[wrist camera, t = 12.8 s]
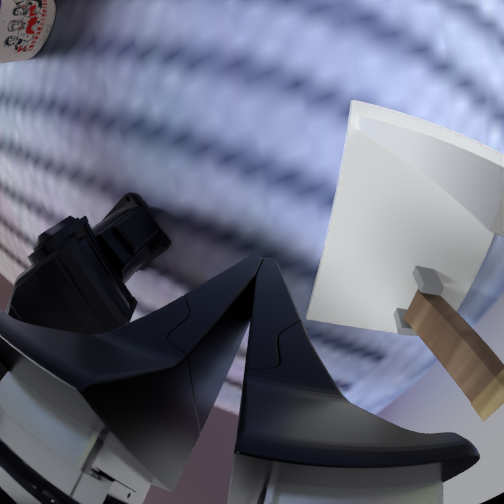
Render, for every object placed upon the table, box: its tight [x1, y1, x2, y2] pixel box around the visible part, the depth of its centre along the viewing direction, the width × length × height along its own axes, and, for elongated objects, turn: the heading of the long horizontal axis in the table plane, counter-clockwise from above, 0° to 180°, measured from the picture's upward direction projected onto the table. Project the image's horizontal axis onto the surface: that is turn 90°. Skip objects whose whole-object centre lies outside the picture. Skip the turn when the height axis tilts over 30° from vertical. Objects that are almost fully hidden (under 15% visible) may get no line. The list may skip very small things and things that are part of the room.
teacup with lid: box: [0, 0, 56, 63], centre depth 10 cm, size 12×9×12 cm
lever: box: [403, 288, 504, 421], centre depth 16 cm, size 2×3×12 cm, turn 175°
